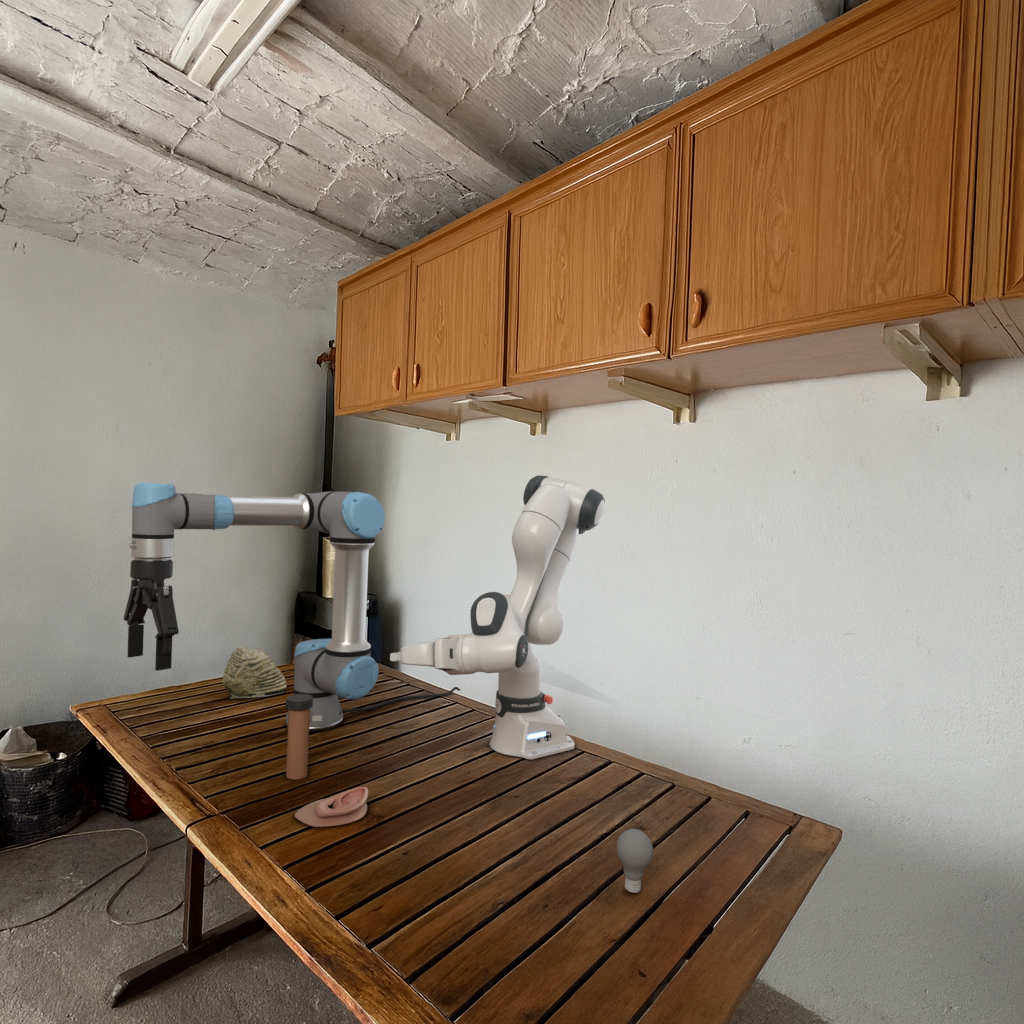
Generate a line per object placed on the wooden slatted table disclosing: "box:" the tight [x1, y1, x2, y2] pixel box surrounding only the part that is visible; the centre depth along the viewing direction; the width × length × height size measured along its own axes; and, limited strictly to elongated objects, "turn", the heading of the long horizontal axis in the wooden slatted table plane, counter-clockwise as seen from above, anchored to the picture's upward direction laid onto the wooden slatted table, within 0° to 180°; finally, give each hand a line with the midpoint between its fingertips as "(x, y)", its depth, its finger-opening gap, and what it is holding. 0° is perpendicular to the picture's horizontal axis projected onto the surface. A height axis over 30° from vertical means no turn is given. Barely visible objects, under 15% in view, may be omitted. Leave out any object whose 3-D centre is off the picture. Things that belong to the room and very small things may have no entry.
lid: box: [285, 694, 313, 711], centre depth 143 cm, size 6×6×2 cm
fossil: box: [222, 646, 288, 699], centre depth 198 cm, size 9×18×15 cm, turn 132°
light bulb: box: [615, 828, 654, 894], centre depth 106 cm, size 6×6×10 cm
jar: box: [285, 709, 310, 780], centre depth 143 cm, size 5×5×17 cm
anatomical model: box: [294, 786, 369, 828], centre depth 127 cm, size 13×4×12 cm
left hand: (148, 662), depth 129 cm, fingers open, 13 cm apart
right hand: (401, 657), depth 147 cm, fingers open, 8 cm apart
